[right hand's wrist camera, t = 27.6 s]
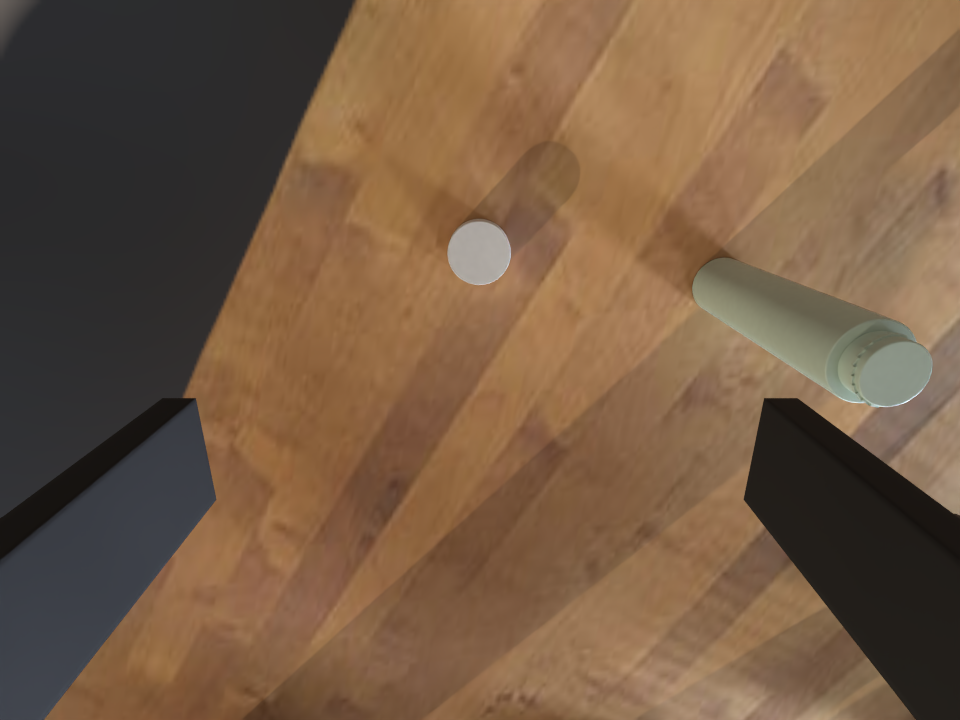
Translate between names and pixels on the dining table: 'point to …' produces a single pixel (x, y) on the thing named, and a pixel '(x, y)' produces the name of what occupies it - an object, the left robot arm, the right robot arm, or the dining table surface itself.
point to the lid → (479, 251)
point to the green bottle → (817, 333)
